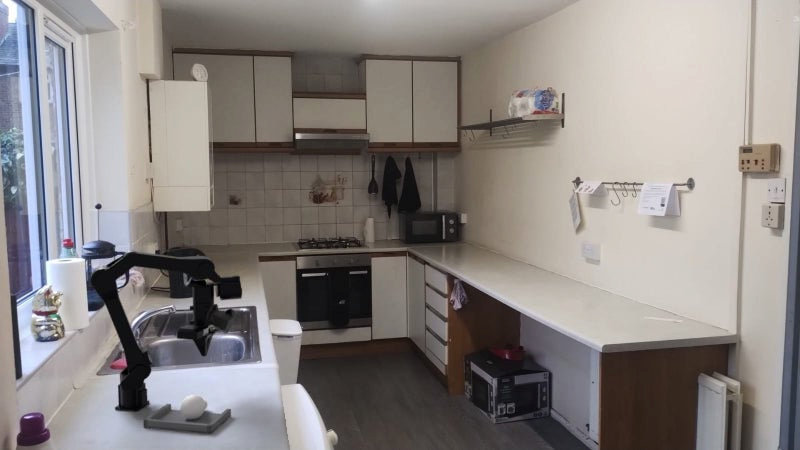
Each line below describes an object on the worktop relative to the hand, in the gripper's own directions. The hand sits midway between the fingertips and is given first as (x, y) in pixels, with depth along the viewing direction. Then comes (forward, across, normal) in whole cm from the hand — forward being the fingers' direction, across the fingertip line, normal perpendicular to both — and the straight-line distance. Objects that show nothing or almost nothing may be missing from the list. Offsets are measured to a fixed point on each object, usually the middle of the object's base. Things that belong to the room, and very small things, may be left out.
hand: (204, 356), depth 176 cm
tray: (+12, -17, -5) cm, 22 cm away
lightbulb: (+10, -8, -5) cm, 14 cm away
